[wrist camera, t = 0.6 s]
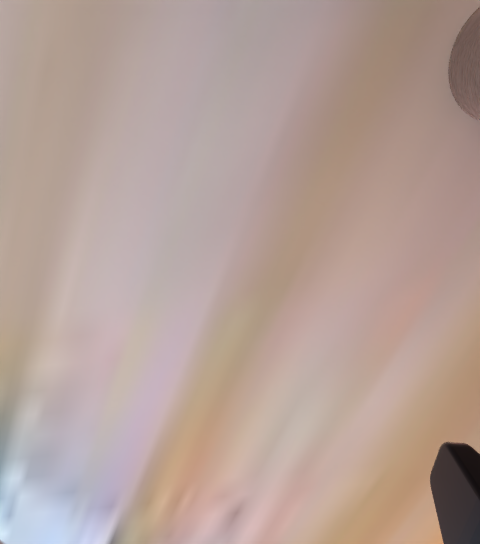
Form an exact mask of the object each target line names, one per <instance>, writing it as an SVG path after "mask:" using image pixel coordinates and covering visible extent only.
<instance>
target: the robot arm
mask: <svg viewBox="0 0 480 544" xmlns="http://www.w3.org/2000/svg"><path fill="white" fill-rule="evenodd" d="M430 484H431V490H432V494H433V499H434V503H435V507H436V512H437V516H438V521H439V525H440V529H441V534H442V538H443V543H444V544H480V454H479V453H478V452H477V451H476V450H474V449H473V448H472V447H471V446H469V445H468V444H464V443H450V442H446V443H444V444H442V445H441V447H440V449H439V452H438V455H437V458H436V460H435V463H434V466H433V468H432V471H431V476H430Z"/></svg>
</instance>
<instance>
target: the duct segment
mask: <svg viewBox="0 0 480 544" xmlns="http://www.w3.org/2000/svg"><path fill="white" fill-rule="evenodd" d="M449 83H450V88H451V91H452V94H453V96H454V98H455V100H456V102H457V103H458V105H459V106H460V107H461V109H462V110H463V111H465V112H466V113H467V114H468V115H470V116H471V117H473V118H475V119H477V120H480V7H479V8H478V9H477V10H476V11H475V12H474V13H473V14H472V15H471V17H470V18H469V19H468V20H467V22H466V23H465V25H464V26H463V27H462V29H461V31H460V33H459V35H458V36H457V39H456V41H455V43H454V46H453V49H452V52H451V56H450V62H449Z"/></svg>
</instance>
